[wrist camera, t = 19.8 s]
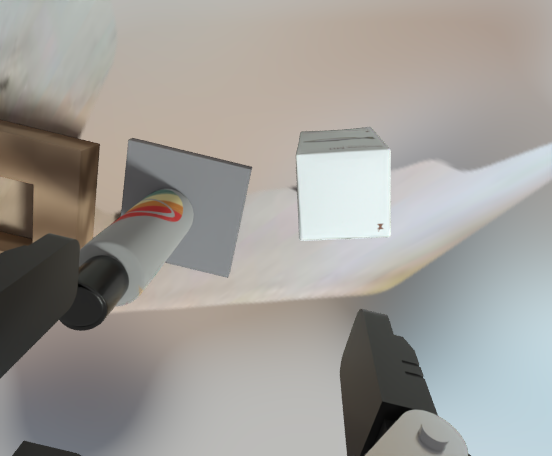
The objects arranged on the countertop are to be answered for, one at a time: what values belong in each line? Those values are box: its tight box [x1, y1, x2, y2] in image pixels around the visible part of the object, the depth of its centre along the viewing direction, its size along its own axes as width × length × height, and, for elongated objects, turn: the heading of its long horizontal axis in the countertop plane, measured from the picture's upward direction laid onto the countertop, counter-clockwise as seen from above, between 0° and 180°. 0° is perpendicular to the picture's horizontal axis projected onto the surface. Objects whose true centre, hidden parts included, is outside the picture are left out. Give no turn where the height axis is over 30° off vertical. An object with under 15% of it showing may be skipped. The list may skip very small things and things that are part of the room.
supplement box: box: [296, 127, 391, 241], centre depth 39 cm, size 7×7×13 cm
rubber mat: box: [121, 138, 252, 278], centre depth 47 cm, size 13×13×1 cm
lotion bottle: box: [59, 189, 194, 331], centre depth 37 cm, size 6×6×20 cm
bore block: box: [0, 120, 100, 253], centre depth 47 cm, size 18×18×4 cm
